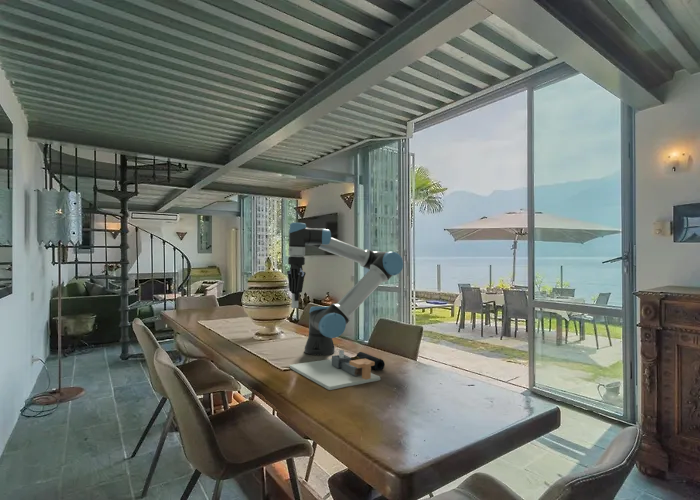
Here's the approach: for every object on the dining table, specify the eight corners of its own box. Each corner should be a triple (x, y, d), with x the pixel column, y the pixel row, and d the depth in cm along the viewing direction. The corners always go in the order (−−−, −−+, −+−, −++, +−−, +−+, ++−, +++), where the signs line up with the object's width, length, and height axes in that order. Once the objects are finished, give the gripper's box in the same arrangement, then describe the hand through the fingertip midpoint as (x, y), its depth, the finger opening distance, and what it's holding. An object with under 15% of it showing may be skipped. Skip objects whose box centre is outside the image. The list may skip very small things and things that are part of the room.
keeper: (364, 375, 157) (365, 358, 157) (376, 380, 151) (376, 362, 151) (348, 378, 152) (349, 360, 152) (359, 383, 146) (360, 365, 146)
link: (331, 365, 165) (331, 355, 165) (343, 363, 168) (344, 354, 168) (352, 376, 150) (352, 366, 150) (365, 374, 153) (365, 364, 153)
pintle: (341, 368, 165) (342, 350, 165) (344, 370, 163) (344, 351, 164) (337, 369, 164) (338, 350, 164) (340, 370, 162) (341, 351, 162)
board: (335, 360, 178) (335, 358, 178) (380, 379, 152) (380, 376, 152) (289, 367, 164) (289, 364, 164) (329, 390, 138) (329, 386, 138)
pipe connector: (363, 361, 160) (344, 353, 173) (362, 373, 160) (343, 365, 173) (384, 358, 167) (364, 351, 179) (384, 370, 166) (364, 362, 179)
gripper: (282, 255, 179) (280, 306, 178) (296, 256, 168) (294, 310, 168) (296, 256, 183) (294, 305, 183) (311, 256, 173) (309, 309, 173)
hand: (294, 307), depth 175 cm, fingers closed
